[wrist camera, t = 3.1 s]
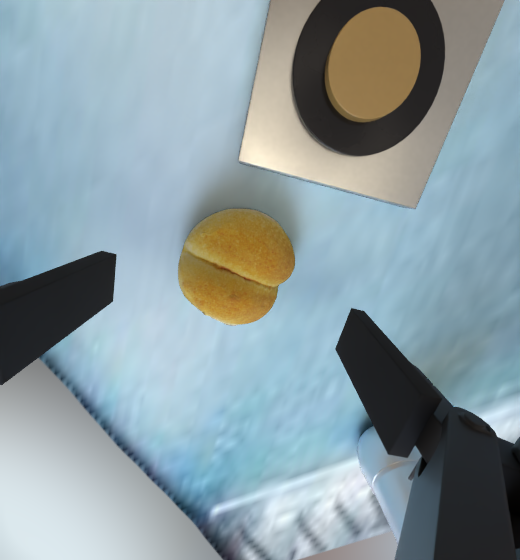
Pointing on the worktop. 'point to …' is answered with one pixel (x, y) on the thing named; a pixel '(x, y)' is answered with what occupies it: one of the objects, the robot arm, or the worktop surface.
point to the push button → (362, 90)
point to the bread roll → (235, 265)
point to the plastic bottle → (387, 477)
